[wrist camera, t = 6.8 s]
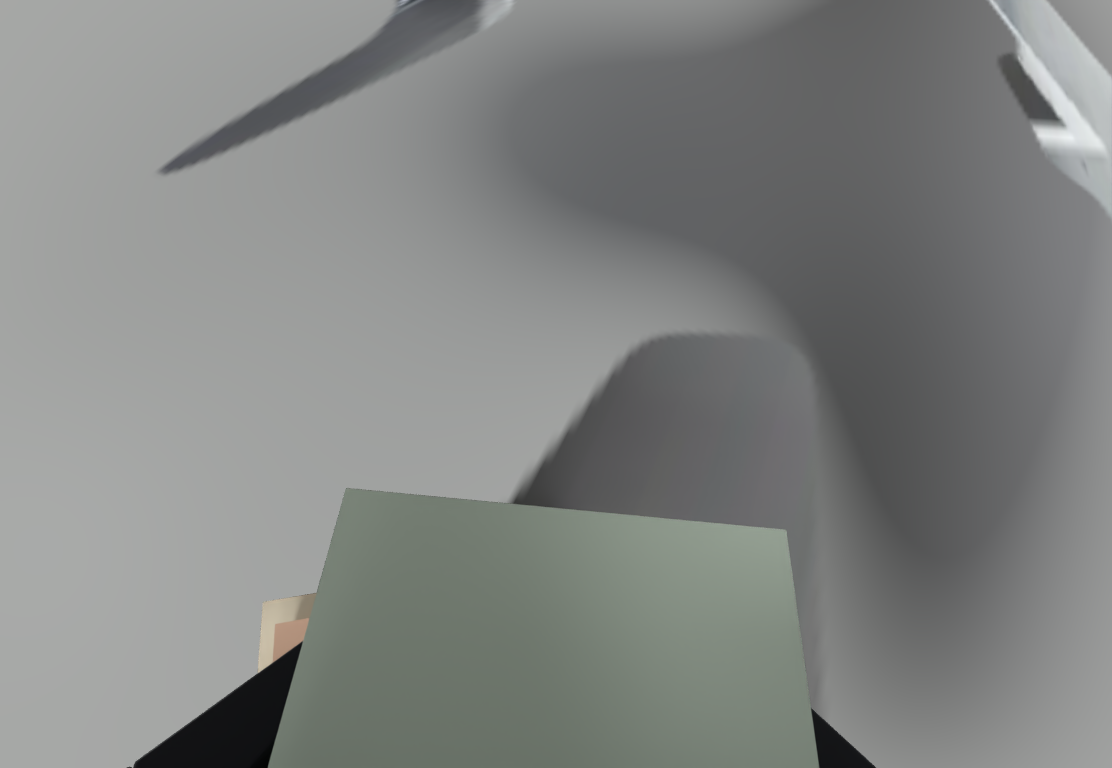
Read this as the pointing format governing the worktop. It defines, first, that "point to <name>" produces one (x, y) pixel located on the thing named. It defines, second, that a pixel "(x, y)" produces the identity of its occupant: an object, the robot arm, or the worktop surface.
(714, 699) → the sage brick
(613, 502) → the worktop surface
